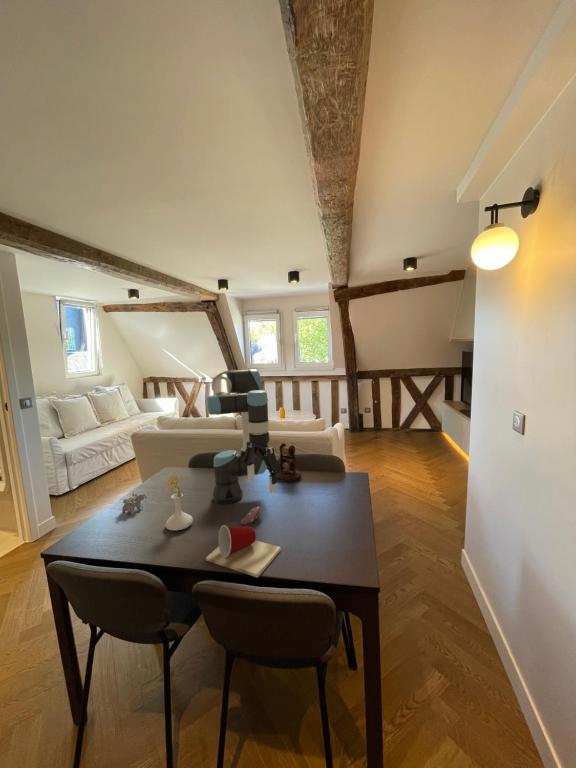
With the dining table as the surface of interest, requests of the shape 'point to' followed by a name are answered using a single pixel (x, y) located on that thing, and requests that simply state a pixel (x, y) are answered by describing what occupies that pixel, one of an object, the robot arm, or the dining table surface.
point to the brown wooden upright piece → (288, 464)
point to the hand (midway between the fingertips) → (262, 486)
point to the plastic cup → (235, 539)
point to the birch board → (247, 558)
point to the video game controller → (251, 515)
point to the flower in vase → (177, 507)
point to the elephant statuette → (133, 503)
